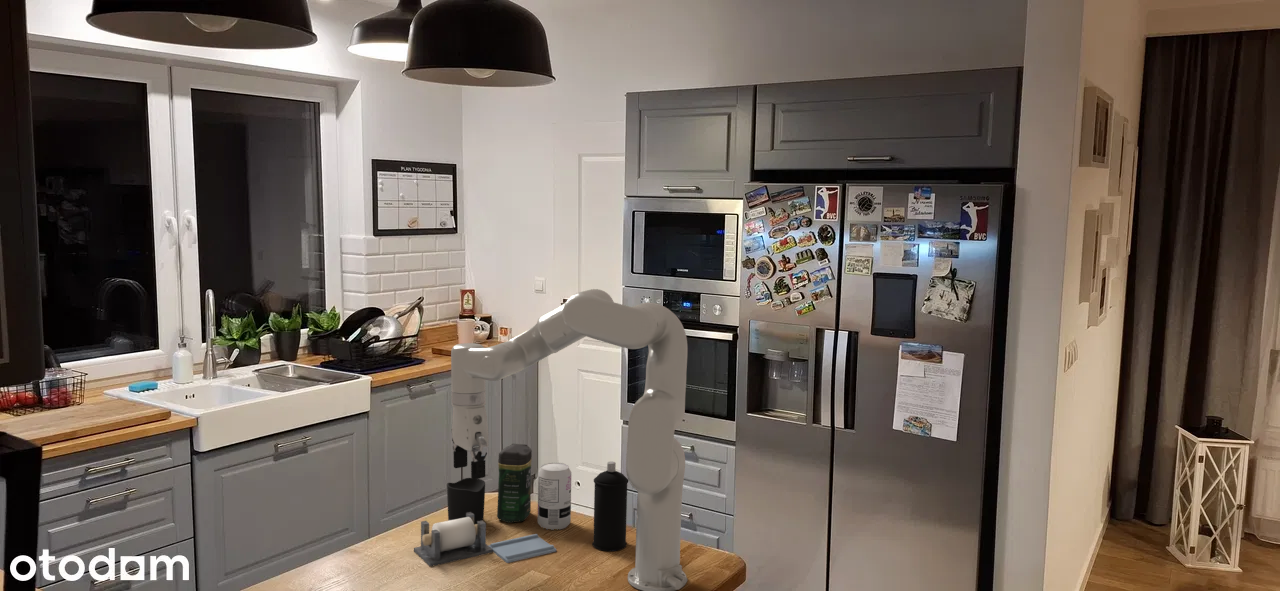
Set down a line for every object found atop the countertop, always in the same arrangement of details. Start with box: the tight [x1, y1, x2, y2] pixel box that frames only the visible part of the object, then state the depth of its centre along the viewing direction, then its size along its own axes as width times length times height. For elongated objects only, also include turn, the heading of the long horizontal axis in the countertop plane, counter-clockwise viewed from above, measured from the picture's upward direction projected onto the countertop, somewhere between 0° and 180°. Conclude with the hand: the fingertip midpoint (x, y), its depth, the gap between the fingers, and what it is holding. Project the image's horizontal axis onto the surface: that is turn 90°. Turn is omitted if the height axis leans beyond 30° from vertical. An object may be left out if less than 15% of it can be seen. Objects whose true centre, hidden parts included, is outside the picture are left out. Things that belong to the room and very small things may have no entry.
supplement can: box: [537, 462, 572, 531], centre depth 215 cm, size 8×8×15 cm
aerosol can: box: [592, 461, 629, 552], centre depth 203 cm, size 8×8×20 cm
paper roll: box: [422, 517, 477, 552], centre depth 197 cm, size 14×6×6 cm, turn 125°
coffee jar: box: [496, 443, 533, 523], centre depth 220 cm, size 10×8×19 cm
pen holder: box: [446, 477, 486, 525], centre depth 216 cm, size 9×9×10 cm
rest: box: [487, 533, 557, 564], centre depth 200 cm, size 13×10×1 cm
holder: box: [413, 512, 494, 567], centre depth 197 cm, size 15×10×7 cm, turn 125°
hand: (469, 472), depth 196 cm, fingers open, 9 cm apart
